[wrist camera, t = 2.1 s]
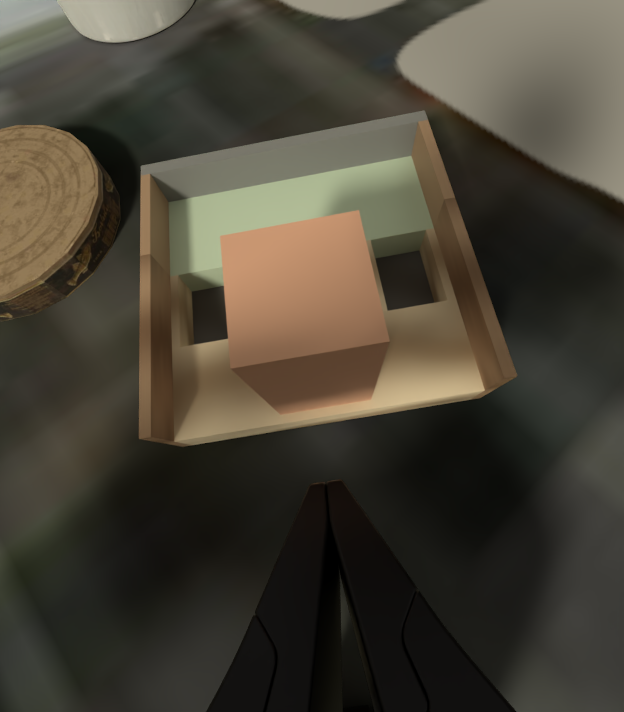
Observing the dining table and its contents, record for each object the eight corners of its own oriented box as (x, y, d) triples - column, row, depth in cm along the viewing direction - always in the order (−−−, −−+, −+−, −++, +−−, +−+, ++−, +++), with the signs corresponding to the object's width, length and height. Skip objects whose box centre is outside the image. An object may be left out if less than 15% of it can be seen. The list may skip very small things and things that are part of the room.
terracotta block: (371, 399, 20) (389, 341, 11) (280, 414, 20) (230, 368, 11) (353, 316, 21) (359, 209, 13) (270, 331, 21) (219, 235, 13)
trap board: (479, 398, 22) (517, 376, 17) (183, 446, 22) (138, 438, 17) (434, 250, 25) (455, 197, 20) (178, 296, 26) (140, 255, 21)
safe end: (434, 250, 25) (455, 197, 20) (178, 296, 26) (140, 255, 21) (411, 174, 27) (424, 110, 22) (175, 218, 28) (140, 165, 23)
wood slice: (68, 343, 26) (33, 327, 23) (-106, 300, 28) (-156, 280, 25) (153, 168, 30) (133, 137, 27) (-4, 145, 33) (-37, 114, 30)
